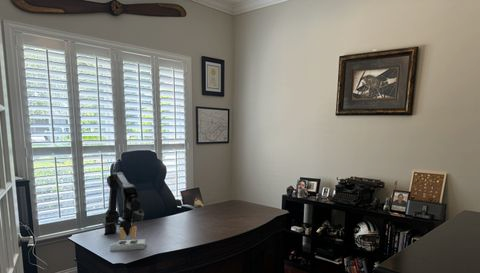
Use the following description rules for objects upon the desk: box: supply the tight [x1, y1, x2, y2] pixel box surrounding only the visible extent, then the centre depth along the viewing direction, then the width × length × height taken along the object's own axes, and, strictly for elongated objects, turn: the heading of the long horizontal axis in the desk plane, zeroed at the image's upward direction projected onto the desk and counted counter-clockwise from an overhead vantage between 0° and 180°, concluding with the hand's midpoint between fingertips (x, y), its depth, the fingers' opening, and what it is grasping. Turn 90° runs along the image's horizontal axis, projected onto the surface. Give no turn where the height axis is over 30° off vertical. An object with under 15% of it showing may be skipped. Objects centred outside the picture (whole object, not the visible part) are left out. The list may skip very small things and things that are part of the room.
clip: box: [119, 225, 138, 240], centre depth 161 cm, size 8×3×6 cm, turn 102°
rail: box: [109, 238, 146, 252], centre depth 161 cm, size 18×7×3 cm, turn 102°
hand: (128, 234), depth 161 cm, fingers closed on clip, 3 cm apart
